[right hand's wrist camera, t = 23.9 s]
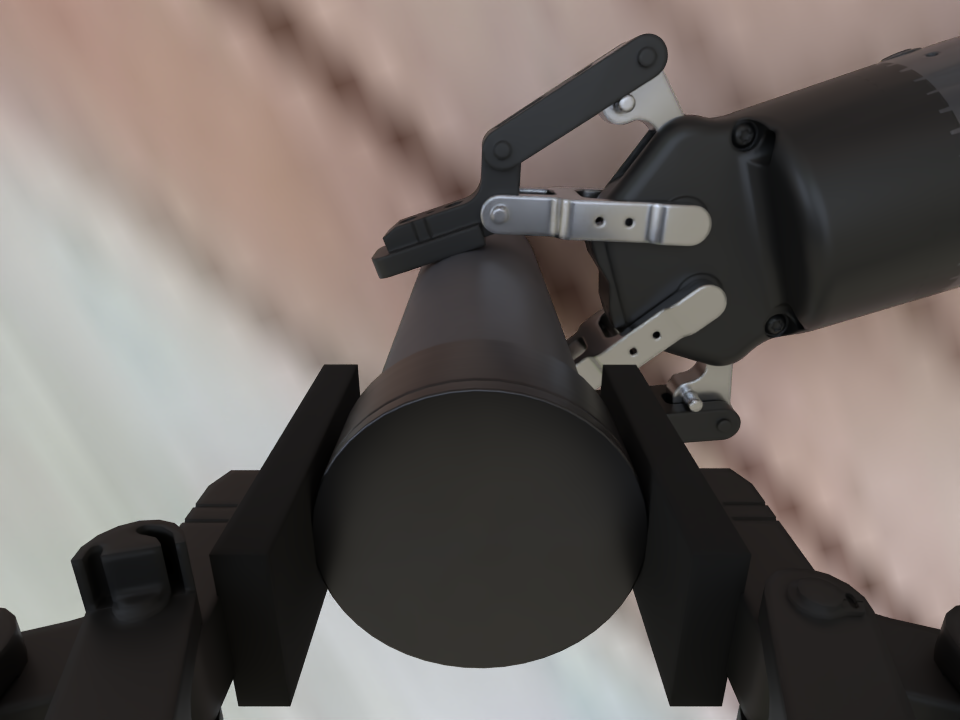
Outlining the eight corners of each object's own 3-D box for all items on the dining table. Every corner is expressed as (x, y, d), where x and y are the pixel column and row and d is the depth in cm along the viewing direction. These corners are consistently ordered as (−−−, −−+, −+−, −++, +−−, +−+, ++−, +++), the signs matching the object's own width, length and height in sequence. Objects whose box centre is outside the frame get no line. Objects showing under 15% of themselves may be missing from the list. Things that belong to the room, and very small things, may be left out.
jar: (460, 191, 27) (428, 329, 10) (558, 252, 28) (675, 469, 11) (403, 289, 28) (295, 545, 12) (497, 343, 29) (521, 651, 13)
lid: (341, 323, 11) (310, 372, 9) (646, 352, 12) (683, 407, 10) (336, 571, 13) (309, 656, 11) (595, 591, 14) (616, 680, 12)
